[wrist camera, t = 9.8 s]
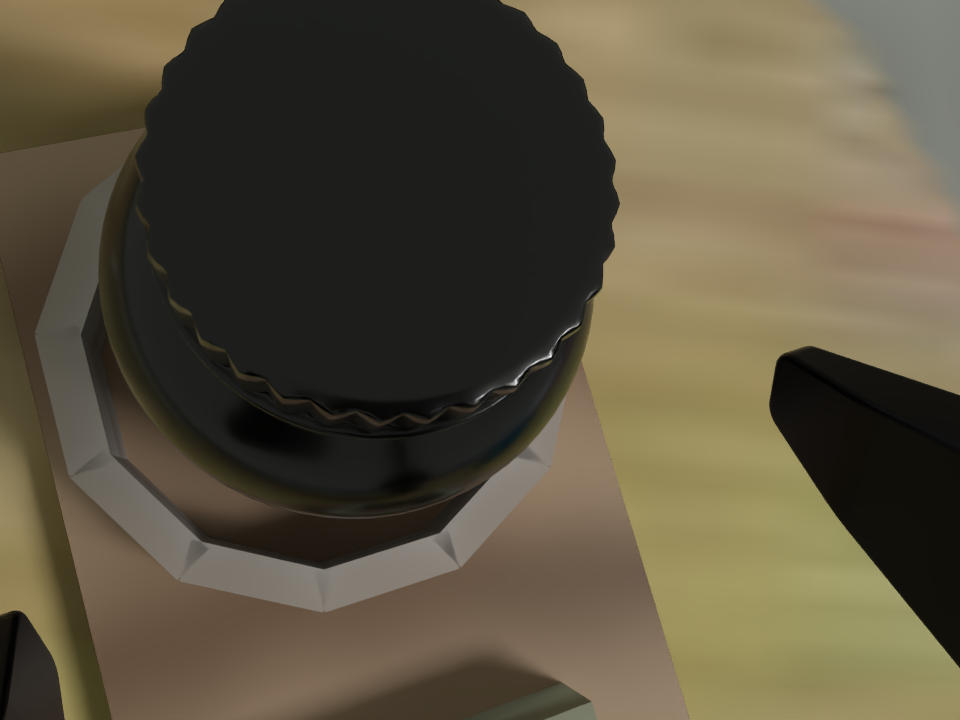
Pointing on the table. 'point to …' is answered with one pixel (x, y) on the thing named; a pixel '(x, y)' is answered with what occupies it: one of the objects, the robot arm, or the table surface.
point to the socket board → (314, 538)
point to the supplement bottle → (358, 248)
